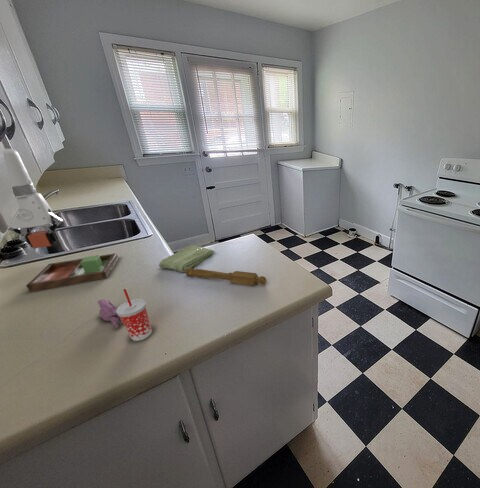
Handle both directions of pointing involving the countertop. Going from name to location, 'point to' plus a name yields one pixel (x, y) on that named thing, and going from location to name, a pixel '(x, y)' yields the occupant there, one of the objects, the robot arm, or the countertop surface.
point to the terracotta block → (39, 239)
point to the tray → (70, 273)
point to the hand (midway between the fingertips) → (44, 243)
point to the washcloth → (186, 258)
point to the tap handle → (228, 276)
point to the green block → (92, 263)
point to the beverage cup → (135, 318)
